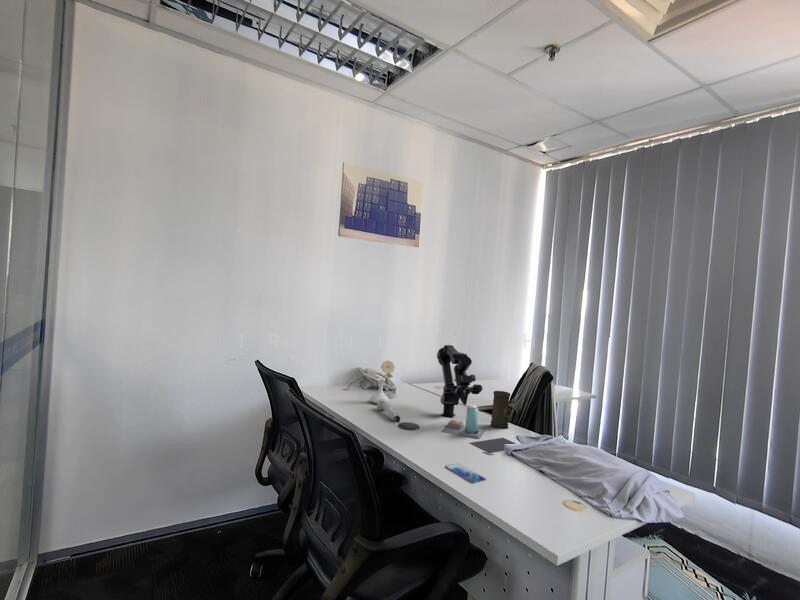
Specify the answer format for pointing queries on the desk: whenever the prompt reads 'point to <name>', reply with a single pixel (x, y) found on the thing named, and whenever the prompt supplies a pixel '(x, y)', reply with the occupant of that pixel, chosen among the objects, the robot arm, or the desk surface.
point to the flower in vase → (387, 368)
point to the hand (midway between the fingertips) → (465, 404)
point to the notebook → (492, 445)
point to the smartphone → (465, 473)
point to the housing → (461, 430)
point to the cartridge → (471, 419)
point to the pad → (408, 426)
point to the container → (500, 410)
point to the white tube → (388, 410)
